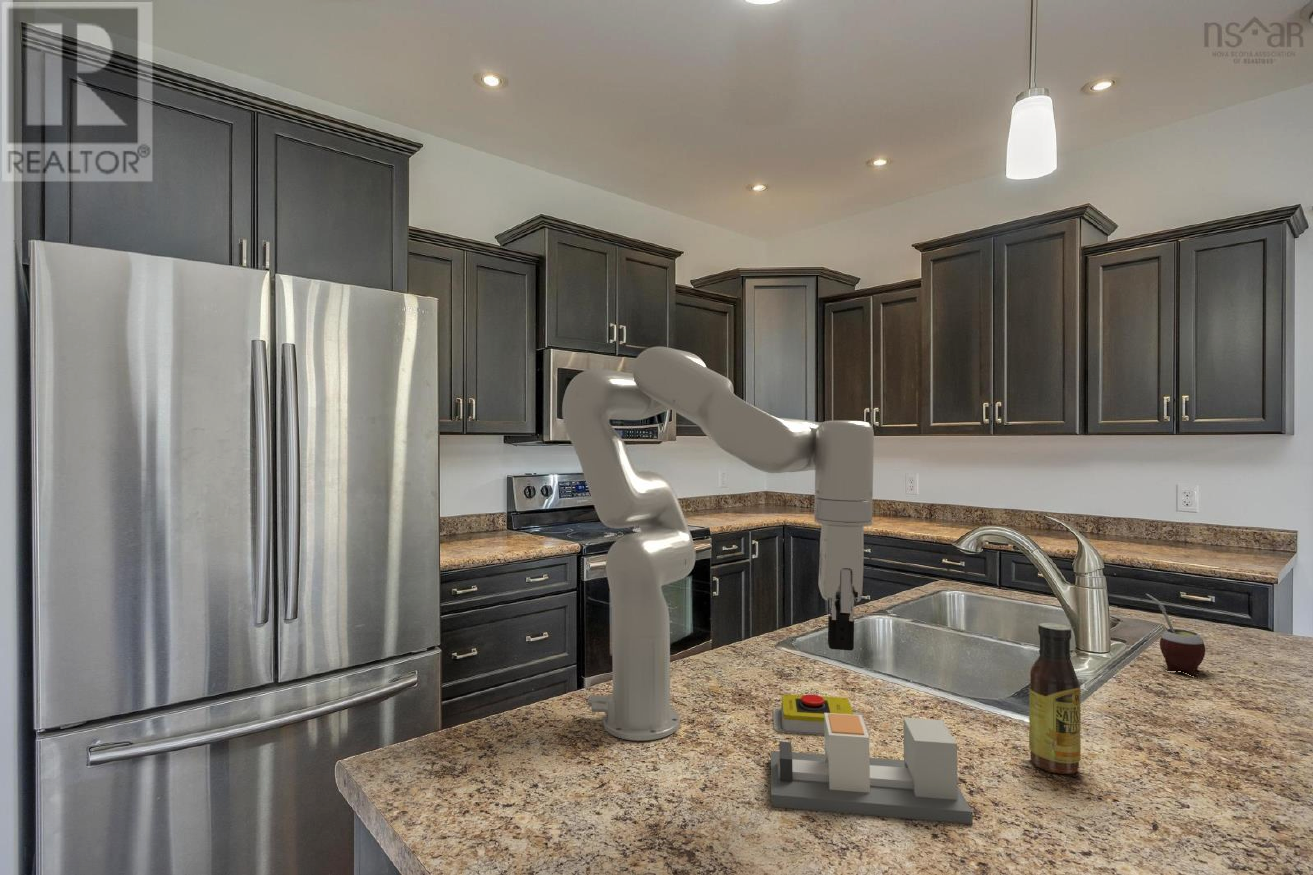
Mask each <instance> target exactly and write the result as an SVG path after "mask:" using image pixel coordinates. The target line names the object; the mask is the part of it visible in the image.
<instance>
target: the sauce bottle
mask: <svg viewBox="0 0 1313 875" xmlns="http://www.w3.org/2000/svg"><path fill="white" fill-rule="evenodd" d="M1037 627H1038V636H1039V650H1038V653H1039V656H1038V658H1037V659H1036V660H1035V662H1034V664H1032V666H1031V668H1030V671H1029V672H1030V675H1029V677H1030V680H1029V681H1030V686H1029V689H1028V690H1029V691H1028V692H1029V699H1028V700H1029V704H1028V705H1029V708H1028V710H1029V712H1028V714H1029V718H1028V719H1029V720H1028V722H1029V724H1028V728H1029V729H1028V730H1029V731H1028V740H1029V741H1028V747H1029V750H1030V752H1029V753H1030V756H1029V757H1030V759H1031V760H1030V761H1031V762H1032V764H1034V766H1036V767H1038V768H1040V769H1041V770H1044V771H1046V772H1049V773H1054V774H1059V775H1072V774H1076V773H1077V772H1078V771H1079V767H1080V761H1081V755H1082V754H1081V748H1082V747H1081V745H1082V744H1081V742H1082V741H1081V739H1082V738H1081V737H1082V736H1081V733H1082V732H1081V728H1082V726H1081V725H1082V724H1081V696H1082V695H1081V684H1080V682H1079V679H1078V675H1077V674H1076V671H1075V669H1074V665H1073V663H1072V660H1071V651H1070V650H1071V649H1070V648H1071V639H1072V628H1071V627H1069V626H1068V625H1065V624H1060V623H1053V622H1041V623H1038V626H1037Z"/></svg>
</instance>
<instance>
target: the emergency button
mask: <svg viewBox="0 0 1313 875" xmlns="http://www.w3.org/2000/svg"><path fill="white" fill-rule="evenodd" d="M850 702H851V701H850V699H848V698H847V697H840V696H826V695H825V696H822V695H817V694H812V693H811V694H810V693H809V694H803V695H802V694H786V693H785V694H782V696H781V706H780V707H775V708H773V709H772V716H773V717H772V718H773V730H774V731H775V732H778V733H786V732H787V733H790V734H802V735H803V734H804V735H818V736H819V735H820V736H825V730H824V713H836V714H852V715H862V718H863V721H864V724H865V727H866V730H867V733H868V736H869V737H870V731H869V729H868V725H867V724H866V721H865V719H864V716H863V714H862V713H860V712H855V711H853V708H852V706H851V703H850ZM787 733H786V734H787Z"/></svg>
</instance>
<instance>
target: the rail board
mask: <svg viewBox="0 0 1313 875" xmlns="http://www.w3.org/2000/svg"><path fill="white" fill-rule="evenodd" d="M902 720H903V722H902V723H903V760H901V759H892V758H890V759H889V758H877V757H876V758H875V757H869V762H870V793H867V792H855V791H843V790H831V789H829V762H825V754H821V753H810V752H809V753H808V752H807V753H806V752H795V751H792V750H793V749H792V742H791V741H779V744H778V745H779V747H778V748H779V750H770V798H771V800H770V802H771V803H770V806H771V808H773V807H774V808H783V809H785V808H786V809H793V810H796V809H797V810H805V811H806V810H807V811H818V812H826V813H828V812H829V813H841V814H853V815H862V816H863V815H865V816H876V817H886V818H887V817H888V818H896V819H897V818H898V819H907V820H909V819H910V820H911V819H912V820H920V821H930V822H931V821H932V822H942V823H943V822H945V823H953V824H954V823H955V824H963V825H964V824H966V825H974V822H973V810H972V808H971V807H970V805H969V803H968V801H967V799H966V798H965V796H964V794H963V792H962V790H961V789H960V787H959V785H958V743H957V742H956V740H955V739H954V737H953V735H952V733H951V732H950V730H949V728H948V727H947V726H946V724H945V722H944V721H943V719H930V718H916V717H915V718H914V717H903V719H902Z"/></svg>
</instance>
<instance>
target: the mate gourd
mask: <svg viewBox="0 0 1313 875" xmlns="http://www.w3.org/2000/svg"><path fill="white" fill-rule="evenodd" d="M1145 595H1146V596H1147V597H1148V598H1150V599H1151V600H1152V601H1154V602H1155V603H1156V604H1157V605H1158V607H1159V609H1160V611H1161V612H1162V615H1163V616H1164V619H1165V621H1166V623H1167V625H1168V628H1167V629H1165V630H1164V632H1162V634H1161V635H1160V640H1159V647H1160V648H1159V649H1160V652H1161V654H1162V656H1163V658H1164V660H1165V663H1166V664H1165V665H1166V667H1167V669H1165V671H1166V670H1167V671H1176V672H1178V671H1181V672H1184V673H1187V674H1189V675H1191V676H1194V677H1197V678H1198V675H1197V674H1196V673H1195V672H1199V673H1200V669H1198V667H1199V666H1200V665H1201V664H1202V662H1203V661H1204V658H1205V655H1206V645H1205V642H1204V640H1203V638H1202V637H1201V636H1200V634H1199V633H1197V632H1194V631H1191V630H1187V629H1181V628H1174V627H1173V624H1172V623H1171V620H1170V618H1169V616H1168V613H1167V611H1166V607H1165V606H1164V604H1162V602H1160V600H1158V599H1157V598H1155V597H1153V596H1152V595H1150V594H1148V593H1145Z"/></svg>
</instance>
